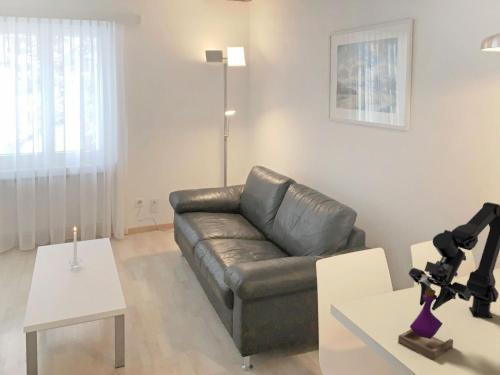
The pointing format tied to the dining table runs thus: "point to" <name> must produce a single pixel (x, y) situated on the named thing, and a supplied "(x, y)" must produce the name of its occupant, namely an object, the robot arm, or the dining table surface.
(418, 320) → the perfume bottle
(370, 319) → the dining table surface
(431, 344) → the wooden tray
